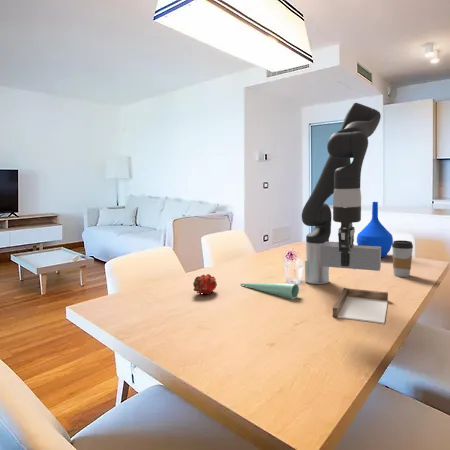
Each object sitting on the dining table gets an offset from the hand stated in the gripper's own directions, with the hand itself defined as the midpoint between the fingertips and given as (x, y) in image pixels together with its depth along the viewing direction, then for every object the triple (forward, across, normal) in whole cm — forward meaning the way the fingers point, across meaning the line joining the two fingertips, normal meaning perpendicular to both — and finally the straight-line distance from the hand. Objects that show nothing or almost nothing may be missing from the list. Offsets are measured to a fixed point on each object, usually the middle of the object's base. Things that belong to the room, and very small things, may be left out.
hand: (346, 263), depth 105 cm
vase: (+20, -105, 0) cm, 107 cm away
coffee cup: (+19, -67, +14) cm, 71 cm away
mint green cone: (+20, -25, -34) cm, 46 cm away
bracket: (+1, -2, +1) cm, 2 cm away
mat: (+19, -17, +3) cm, 26 cm away
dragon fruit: (+19, -14, -55) cm, 60 cm away
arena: (+19, -18, +2) cm, 26 cm away
